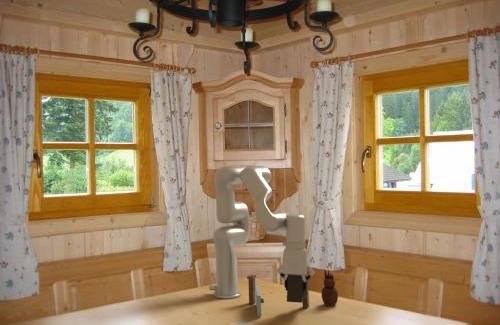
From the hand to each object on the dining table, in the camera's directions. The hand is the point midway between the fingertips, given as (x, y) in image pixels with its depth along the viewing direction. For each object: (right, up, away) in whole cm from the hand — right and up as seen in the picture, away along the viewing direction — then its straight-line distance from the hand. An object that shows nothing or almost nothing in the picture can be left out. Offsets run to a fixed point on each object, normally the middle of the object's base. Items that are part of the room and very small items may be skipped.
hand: (295, 289), depth 208 cm
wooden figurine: (+15, -9, +11) cm, 21 cm away
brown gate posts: (-6, -10, +12) cm, 17 cm away
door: (-14, -9, +5) cm, 18 cm away
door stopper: (0, -4, 0) cm, 4 cm away
